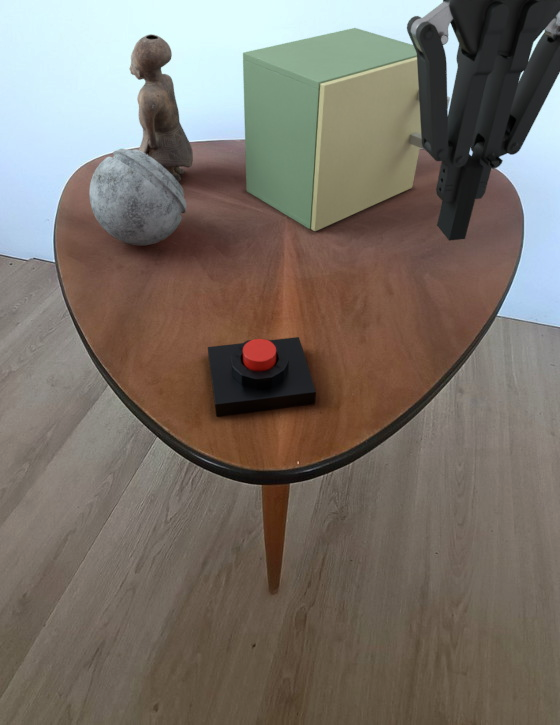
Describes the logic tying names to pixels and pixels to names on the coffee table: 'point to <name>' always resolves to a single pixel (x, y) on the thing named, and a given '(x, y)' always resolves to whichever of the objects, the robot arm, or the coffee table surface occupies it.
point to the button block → (260, 379)
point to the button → (259, 355)
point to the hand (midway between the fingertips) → (450, 231)
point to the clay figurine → (159, 107)
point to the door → (366, 140)
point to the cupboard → (299, 109)
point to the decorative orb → (136, 198)
